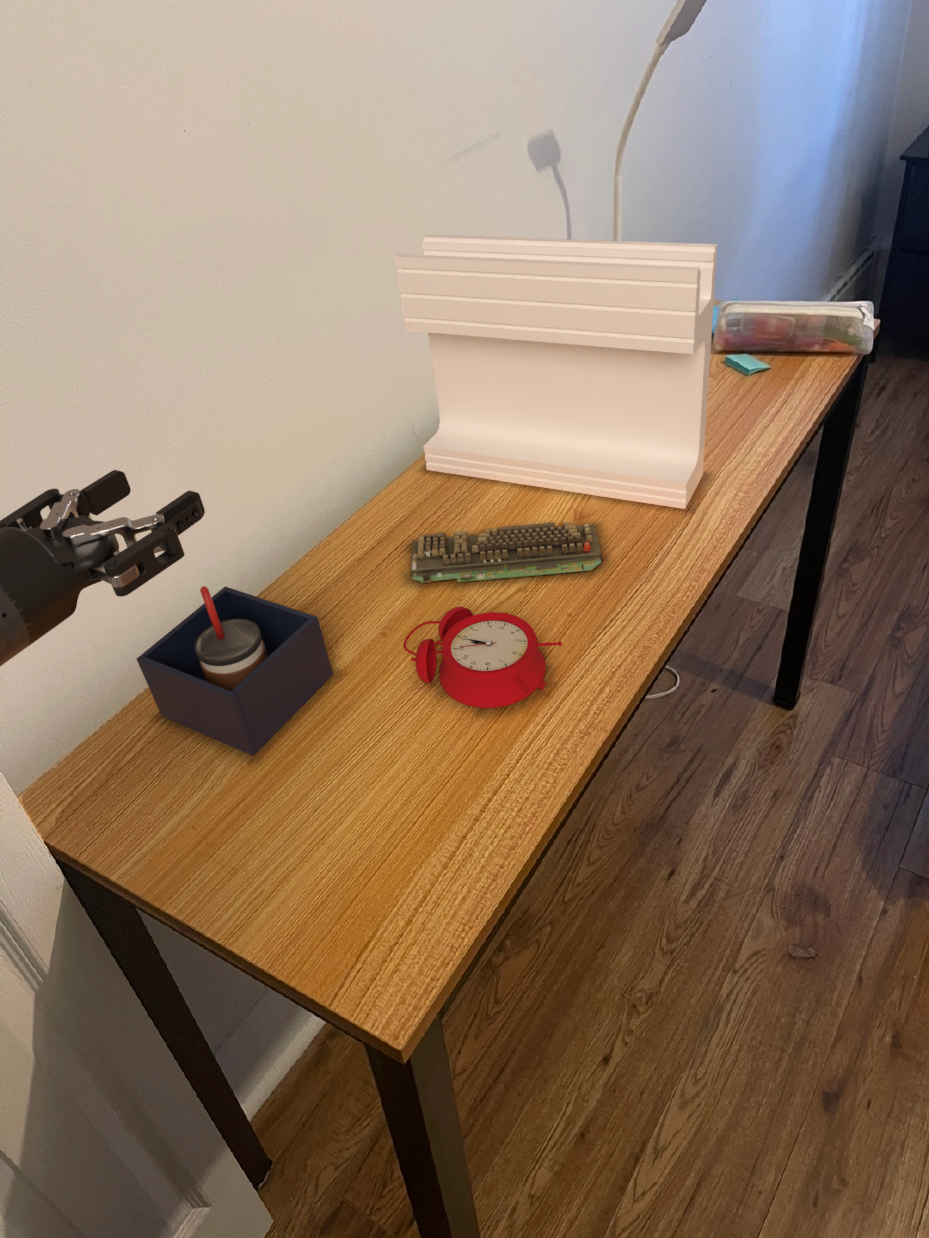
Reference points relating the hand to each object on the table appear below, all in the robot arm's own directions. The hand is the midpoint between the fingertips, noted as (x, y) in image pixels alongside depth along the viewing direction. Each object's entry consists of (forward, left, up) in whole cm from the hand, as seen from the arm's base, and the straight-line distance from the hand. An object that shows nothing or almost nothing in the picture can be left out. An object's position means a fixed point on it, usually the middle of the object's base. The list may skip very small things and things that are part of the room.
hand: (160, 490), depth 72 cm
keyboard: (+34, -10, -26) cm, 44 cm away
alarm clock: (+16, -17, -26) cm, 35 cm away
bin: (+3, +2, -26) cm, 26 cm away
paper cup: (+2, +1, -25) cm, 25 cm away
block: (+53, -7, -26) cm, 60 cm away
